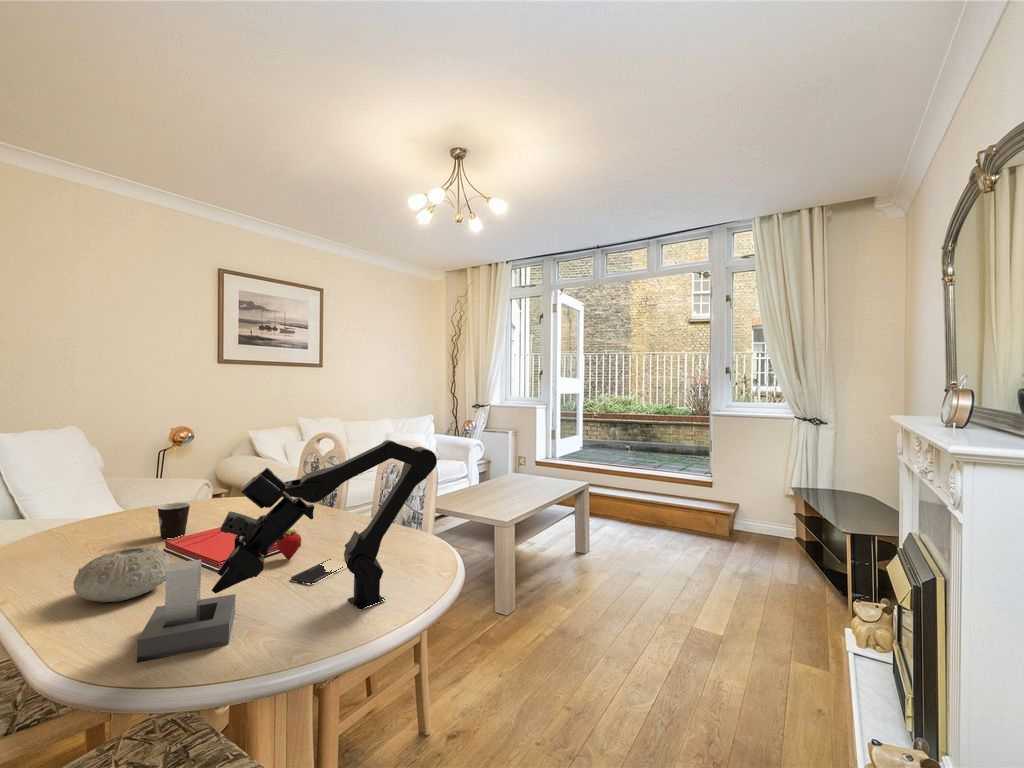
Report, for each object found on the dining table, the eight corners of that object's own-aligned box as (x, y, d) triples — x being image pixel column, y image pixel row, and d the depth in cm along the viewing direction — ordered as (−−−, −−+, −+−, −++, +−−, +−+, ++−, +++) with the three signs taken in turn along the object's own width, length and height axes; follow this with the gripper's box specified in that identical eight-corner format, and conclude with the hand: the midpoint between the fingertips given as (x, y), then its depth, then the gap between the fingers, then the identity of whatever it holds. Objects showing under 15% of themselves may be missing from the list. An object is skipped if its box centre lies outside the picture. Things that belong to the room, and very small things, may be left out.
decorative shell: (51, 615, 97) (53, 568, 98) (102, 581, 114) (103, 541, 115) (149, 606, 102) (150, 561, 102) (183, 575, 119) (184, 537, 119)
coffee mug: (160, 533, 152) (161, 504, 153) (191, 531, 156) (192, 501, 156) (150, 544, 142) (151, 512, 142) (183, 541, 145) (184, 510, 146)
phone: (353, 562, 128) (312, 582, 114) (353, 566, 128) (312, 587, 114) (331, 558, 131) (288, 577, 117) (330, 562, 131) (288, 582, 117)
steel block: (199, 622, 93) (201, 559, 93) (195, 634, 89) (197, 567, 89) (169, 628, 91) (171, 563, 91) (163, 640, 86) (166, 572, 87)
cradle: (235, 612, 100) (235, 593, 100) (228, 643, 87) (229, 623, 88) (155, 626, 94) (156, 606, 94) (136, 662, 81) (137, 640, 81)
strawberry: (288, 565, 127) (289, 529, 127) (270, 560, 130) (271, 525, 131) (306, 558, 133) (307, 524, 133) (288, 554, 136) (289, 520, 136)
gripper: (250, 489, 103) (191, 545, 98) (244, 508, 87) (173, 576, 82) (288, 519, 107) (233, 575, 102) (289, 543, 90) (223, 611, 85)
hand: (216, 582), depth 92 cm, fingers open, 9 cm apart
